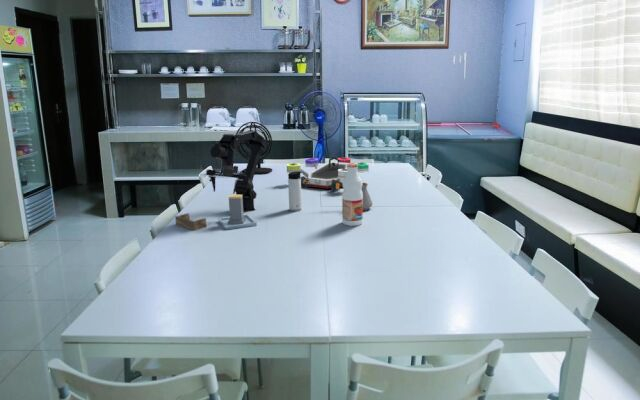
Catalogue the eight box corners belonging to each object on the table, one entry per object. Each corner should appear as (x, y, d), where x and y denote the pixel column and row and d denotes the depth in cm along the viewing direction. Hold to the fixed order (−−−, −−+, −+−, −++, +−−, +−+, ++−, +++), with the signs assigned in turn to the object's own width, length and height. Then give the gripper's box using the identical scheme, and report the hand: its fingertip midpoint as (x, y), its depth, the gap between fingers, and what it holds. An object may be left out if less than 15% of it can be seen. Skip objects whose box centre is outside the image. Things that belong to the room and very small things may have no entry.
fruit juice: (345, 219, 246) (345, 161, 239) (364, 220, 243) (364, 162, 236) (340, 225, 237) (339, 165, 230) (360, 226, 235) (360, 166, 227)
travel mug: (300, 211, 260) (299, 173, 255) (287, 211, 261) (286, 172, 256) (303, 208, 266) (302, 170, 261) (291, 208, 267) (289, 170, 262)
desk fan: (233, 173, 352) (229, 122, 343) (243, 168, 369) (240, 119, 360) (270, 175, 345) (267, 123, 336) (279, 170, 361) (277, 120, 352)
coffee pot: (373, 205, 268) (373, 177, 265) (371, 212, 258) (371, 182, 254) (333, 204, 273) (332, 176, 269) (329, 210, 262) (328, 181, 258)
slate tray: (247, 217, 252) (247, 214, 252) (256, 225, 239) (256, 222, 239) (218, 221, 246) (218, 218, 246) (225, 230, 234) (225, 226, 233)
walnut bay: (188, 221, 248) (187, 213, 247) (206, 226, 239) (205, 218, 238) (176, 224, 243) (175, 216, 242) (193, 230, 234) (193, 222, 233)
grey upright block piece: (231, 220, 246) (229, 194, 242) (245, 220, 245) (244, 194, 242) (228, 224, 240) (226, 197, 237) (243, 224, 239) (241, 197, 236)
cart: (378, 181, 324) (378, 155, 320) (349, 194, 292) (349, 166, 288) (317, 174, 347) (317, 150, 343) (284, 186, 315) (283, 160, 311)
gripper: (209, 156, 236) (205, 190, 236) (250, 162, 242) (246, 195, 242) (207, 158, 247) (203, 190, 247) (246, 163, 252) (242, 194, 252)
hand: (224, 192), depth 246 cm, fingers open, 9 cm apart
